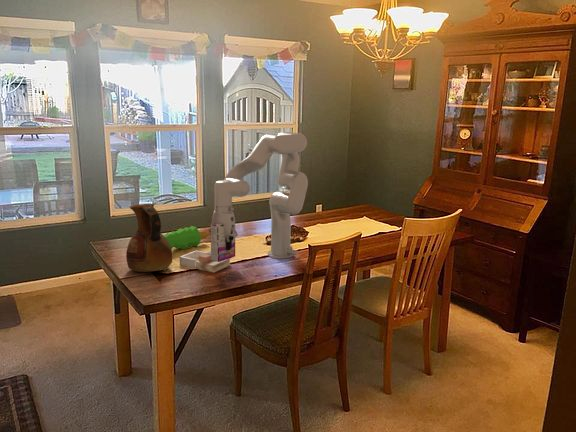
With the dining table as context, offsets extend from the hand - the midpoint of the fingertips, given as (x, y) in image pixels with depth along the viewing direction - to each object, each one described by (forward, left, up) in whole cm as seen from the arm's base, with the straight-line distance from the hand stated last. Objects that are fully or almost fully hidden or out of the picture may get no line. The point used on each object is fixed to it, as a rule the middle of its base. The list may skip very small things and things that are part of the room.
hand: (223, 248), depth 227 cm
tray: (+16, 0, -10) cm, 19 cm away
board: (+6, 0, -10) cm, 11 cm away
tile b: (+8, +2, -7) cm, 11 cm away
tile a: (+8, -3, -7) cm, 11 cm away
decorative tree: (+37, -14, -10) cm, 41 cm away
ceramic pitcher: (+27, +18, -10) cm, 34 cm away
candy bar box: (0, 0, -5) cm, 5 cm away
